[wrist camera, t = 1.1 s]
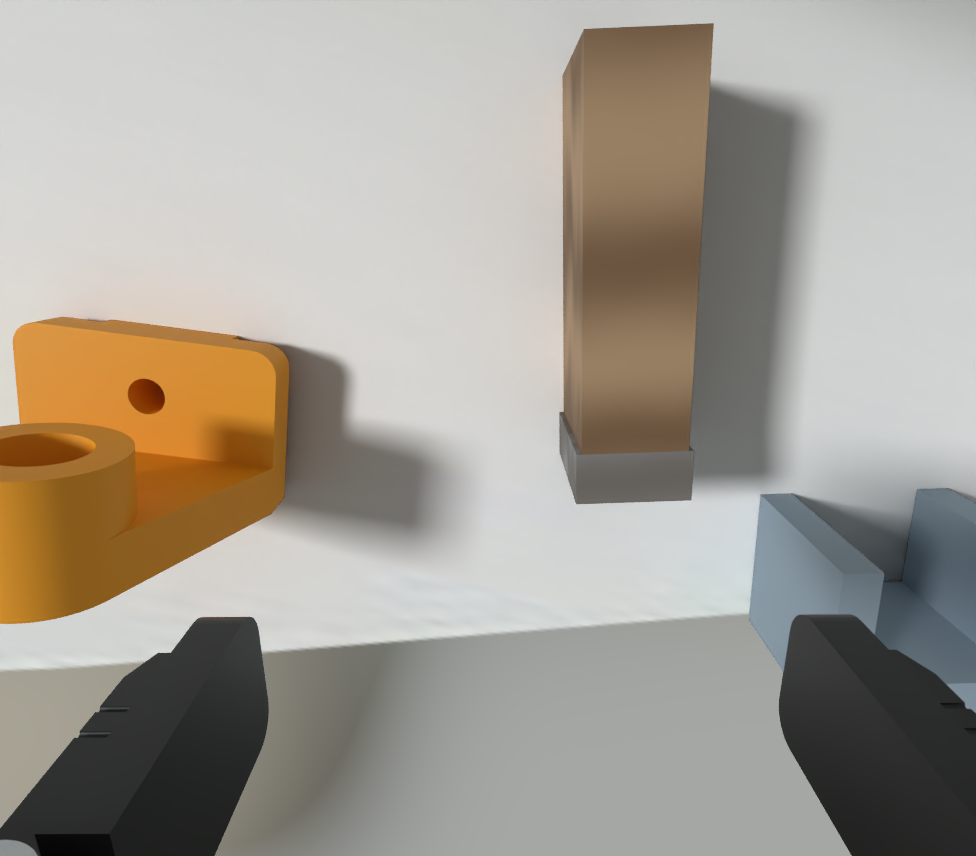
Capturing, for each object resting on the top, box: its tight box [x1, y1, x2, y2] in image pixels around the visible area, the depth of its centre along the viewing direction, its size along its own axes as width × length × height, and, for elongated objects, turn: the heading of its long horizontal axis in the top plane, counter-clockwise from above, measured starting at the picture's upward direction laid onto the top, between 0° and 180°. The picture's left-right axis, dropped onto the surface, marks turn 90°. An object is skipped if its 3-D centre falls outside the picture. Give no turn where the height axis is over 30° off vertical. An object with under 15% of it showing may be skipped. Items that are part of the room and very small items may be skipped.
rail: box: [560, 23, 713, 504], centre depth 25 cm, size 16×4×6 cm, turn 2°
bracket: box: [0, 317, 289, 624], centre depth 24 cm, size 11×7×12 cm, turn 82°
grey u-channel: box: [749, 488, 976, 713], centre depth 28 cm, size 7×9×8 cm
